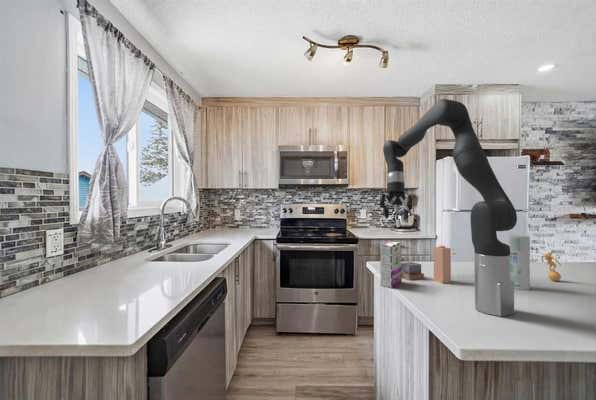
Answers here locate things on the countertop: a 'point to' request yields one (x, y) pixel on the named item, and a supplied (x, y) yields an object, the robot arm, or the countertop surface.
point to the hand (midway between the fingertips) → (396, 218)
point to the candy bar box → (390, 264)
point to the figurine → (553, 274)
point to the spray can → (520, 261)
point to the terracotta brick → (442, 264)
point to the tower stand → (411, 271)
